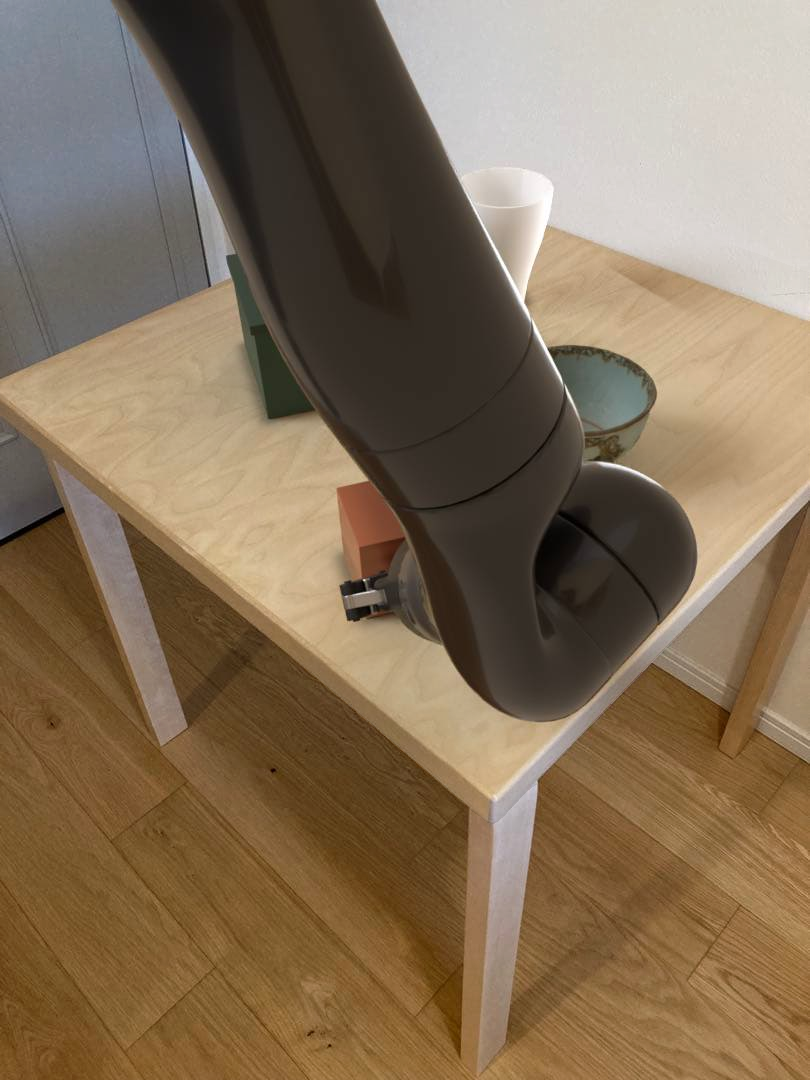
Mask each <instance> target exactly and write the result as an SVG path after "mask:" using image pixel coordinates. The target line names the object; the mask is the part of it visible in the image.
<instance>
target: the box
mask: <svg viewBox="0 0 810 1080" xmlns="http://www.w3.org/2000/svg"><path fill="white" fill-rule="evenodd" d="M225 260H226V265H227V267H228V271H229V273H230V276H231V279H232V283H233V286H234V291H235V298H236V303H237V310H238V314H239V320H240V326H241V331H242V337H243V342H244V347H245V351H246V354H247V357H248V360H249V363H250V367H251V370H252V372H253V375H254V379H255V383H256V385H257V388H258V392H259V394H260V398H261V401H262V404H263V407H264V410H265V413H266V417H267V419H268V420H271V419H276V418H280V417H284V416H285V417H286V416H290V415H294V414H300V413H305V412H310V411H316V410H315V408H314V407H313V405H312V404H311V403H310V401H309V400H308V398H307V397H306V395H305V394H304V392H303V391H302V389H301V388H300V386H299V385H298V383H297V381H296V380H295V378H294V376H293V375H292V373H291V371H290V370H289V368H288V366H287V364H286V363H285V361H284V359H283V357H282V355H281V353H280V352H279V350H278V348H277V346H276V344H275V342H274V340H273V338H272V336H271V334H270V332H269V330H268V328H267V326H266V324H265V322H264V319H263V317H262V315H261V313H260V311H259V309H258V306H257V304H256V302H255V299H254V297H253V295H252V292H251V290H250V288H249V285H248V283H247V280H246V278H245V275H244V273H243V270H242V268H241V265H240V262H239V260H238V257H237V255H236V253H233V254H227V255H225Z"/></svg>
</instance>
